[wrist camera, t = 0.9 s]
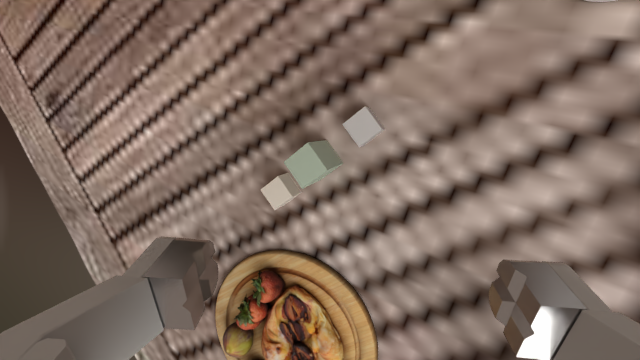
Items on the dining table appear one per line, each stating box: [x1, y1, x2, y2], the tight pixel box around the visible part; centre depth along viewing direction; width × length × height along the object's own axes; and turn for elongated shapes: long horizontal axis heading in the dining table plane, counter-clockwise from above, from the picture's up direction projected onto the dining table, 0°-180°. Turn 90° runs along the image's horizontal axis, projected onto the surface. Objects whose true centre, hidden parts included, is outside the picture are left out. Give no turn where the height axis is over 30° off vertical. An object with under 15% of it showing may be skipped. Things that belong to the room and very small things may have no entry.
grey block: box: [343, 106, 386, 147], centre depth 44 cm, size 4×4×4 cm
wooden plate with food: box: [215, 250, 378, 360], centre depth 52 cm, size 32×32×8 cm
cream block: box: [261, 173, 302, 210], centre depth 50 cm, size 4×4×4 cm
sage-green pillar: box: [284, 140, 343, 189], centre depth 44 cm, size 4×4×8 cm
